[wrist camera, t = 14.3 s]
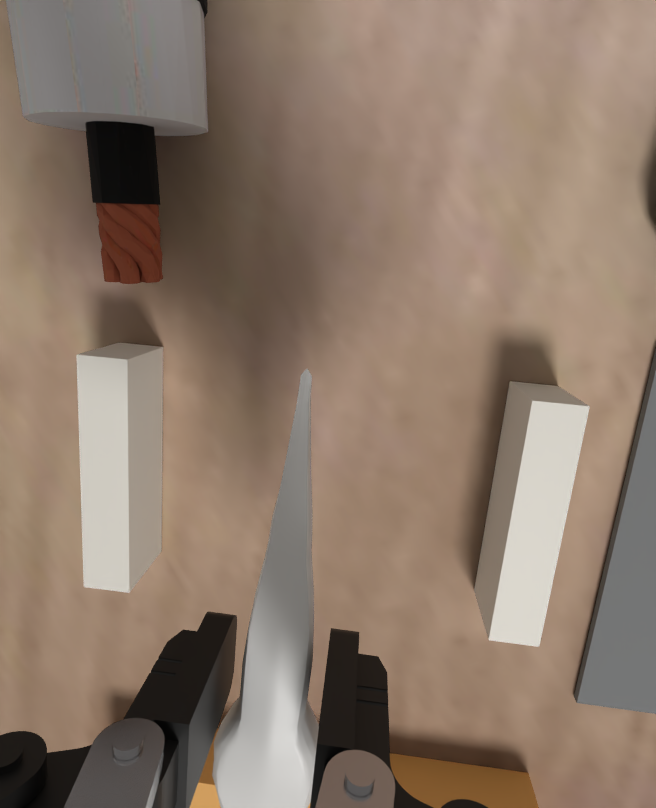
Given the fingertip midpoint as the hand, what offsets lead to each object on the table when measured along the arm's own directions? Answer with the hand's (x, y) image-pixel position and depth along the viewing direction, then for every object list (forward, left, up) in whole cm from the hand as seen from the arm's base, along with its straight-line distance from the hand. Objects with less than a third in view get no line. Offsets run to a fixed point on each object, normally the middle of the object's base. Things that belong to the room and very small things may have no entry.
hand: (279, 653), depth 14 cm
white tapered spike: (0, 0, 0) cm, 1 cm away
